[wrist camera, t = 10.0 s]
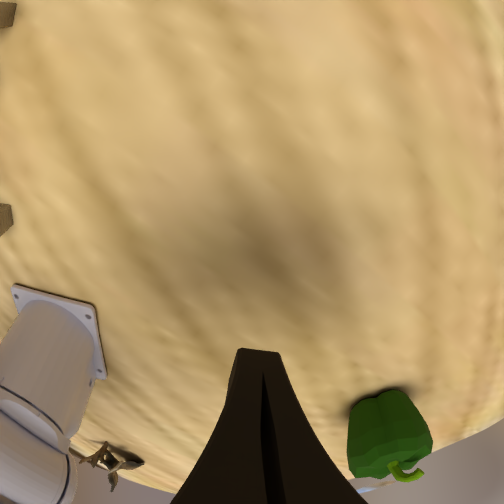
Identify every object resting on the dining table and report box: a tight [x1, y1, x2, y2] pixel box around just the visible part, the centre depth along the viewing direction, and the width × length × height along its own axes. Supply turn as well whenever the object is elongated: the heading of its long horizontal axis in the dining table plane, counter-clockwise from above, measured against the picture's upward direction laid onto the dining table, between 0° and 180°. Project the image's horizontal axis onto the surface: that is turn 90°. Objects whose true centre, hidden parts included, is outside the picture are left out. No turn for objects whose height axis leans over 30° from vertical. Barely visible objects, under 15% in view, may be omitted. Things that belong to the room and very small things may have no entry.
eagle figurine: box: [79, 441, 144, 492], centre depth 36 cm, size 8×7×9 cm
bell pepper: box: [347, 390, 433, 482], centre depth 25 cm, size 8×8×10 cm
